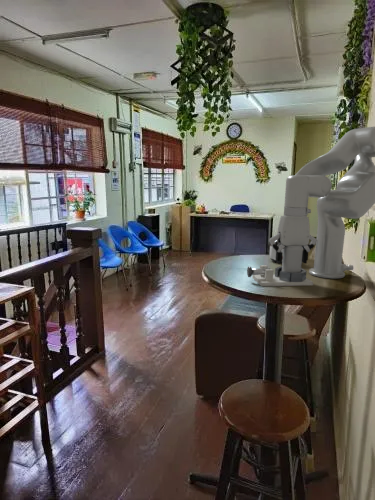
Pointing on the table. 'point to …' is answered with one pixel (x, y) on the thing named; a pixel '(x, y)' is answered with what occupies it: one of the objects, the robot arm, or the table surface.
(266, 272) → the dock board
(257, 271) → the lock pin
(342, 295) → the table surface
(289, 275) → the socket
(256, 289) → the table surface
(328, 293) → the table surface
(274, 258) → the spread jar
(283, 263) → the beverage can
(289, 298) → the table surface
